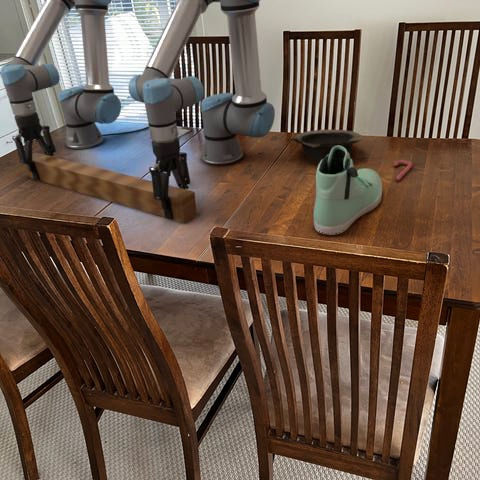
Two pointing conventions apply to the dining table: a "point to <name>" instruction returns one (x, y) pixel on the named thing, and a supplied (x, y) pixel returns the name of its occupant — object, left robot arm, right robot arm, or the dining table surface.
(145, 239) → the dining table surface
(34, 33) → the left robot arm
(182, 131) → the baking ingredient package
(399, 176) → the candy cane
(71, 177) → the beam
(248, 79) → the right robot arm
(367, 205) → the sneaker
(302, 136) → the stone bowl
